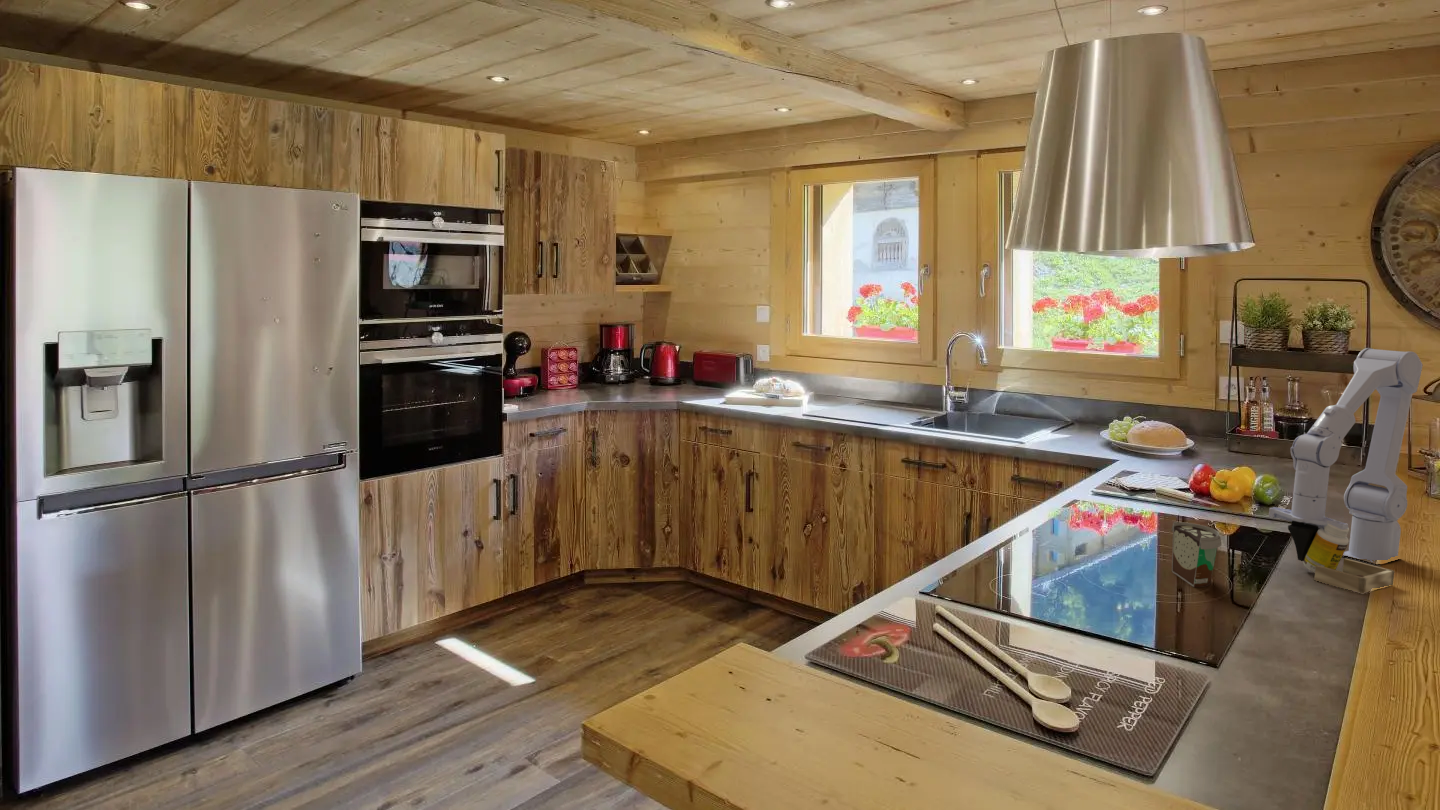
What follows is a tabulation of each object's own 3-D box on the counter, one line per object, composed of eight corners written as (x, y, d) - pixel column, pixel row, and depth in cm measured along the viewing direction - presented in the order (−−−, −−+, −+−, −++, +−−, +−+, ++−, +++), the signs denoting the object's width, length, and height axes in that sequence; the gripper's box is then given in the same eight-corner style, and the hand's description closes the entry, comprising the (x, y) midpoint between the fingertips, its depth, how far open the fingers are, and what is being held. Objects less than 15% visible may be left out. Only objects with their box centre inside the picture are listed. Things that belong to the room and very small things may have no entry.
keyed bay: (1344, 572, 190) (1346, 558, 189) (1392, 585, 182) (1394, 570, 182) (1314, 580, 185) (1315, 565, 184) (1362, 594, 177) (1364, 579, 177)
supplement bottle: (1325, 579, 186) (1346, 535, 182) (1296, 564, 190) (1317, 520, 186) (1338, 574, 189) (1359, 530, 185) (1310, 559, 193) (1330, 516, 189)
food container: (1230, 590, 179) (1235, 539, 177) (1197, 589, 179) (1202, 538, 177) (1199, 569, 191) (1203, 521, 189) (1168, 569, 191) (1172, 521, 190)
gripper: (1262, 488, 194) (1256, 552, 196) (1336, 504, 181) (1328, 572, 183) (1283, 485, 197) (1276, 548, 199) (1356, 500, 185) (1349, 567, 187)
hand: (1303, 559), depth 192 cm, fingers closed
